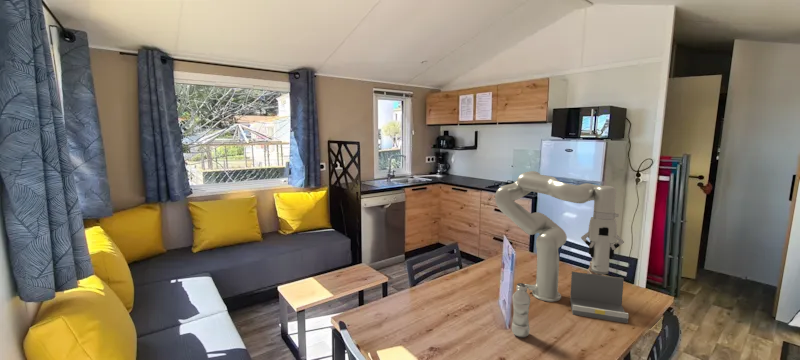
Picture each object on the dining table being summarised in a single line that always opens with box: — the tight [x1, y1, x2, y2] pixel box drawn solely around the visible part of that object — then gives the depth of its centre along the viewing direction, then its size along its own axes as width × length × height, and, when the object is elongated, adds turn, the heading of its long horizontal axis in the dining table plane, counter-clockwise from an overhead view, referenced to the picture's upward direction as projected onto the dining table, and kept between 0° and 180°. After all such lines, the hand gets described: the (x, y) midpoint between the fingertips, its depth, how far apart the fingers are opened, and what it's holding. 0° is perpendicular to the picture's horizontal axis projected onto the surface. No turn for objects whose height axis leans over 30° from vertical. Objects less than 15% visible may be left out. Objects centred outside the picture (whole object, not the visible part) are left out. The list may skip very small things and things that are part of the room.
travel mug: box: [591, 228, 611, 275], centre depth 145 cm, size 6×7×20 cm
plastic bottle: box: [511, 282, 531, 338], centre depth 131 cm, size 6×7×20 cm
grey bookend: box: [569, 271, 629, 324], centre depth 148 cm, size 20×13×14 cm, turn 68°
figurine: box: [586, 260, 603, 275], centre depth 178 cm, size 7×7×12 cm
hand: (600, 256), depth 146 cm, fingers closed on travel mug, 6 cm apart
